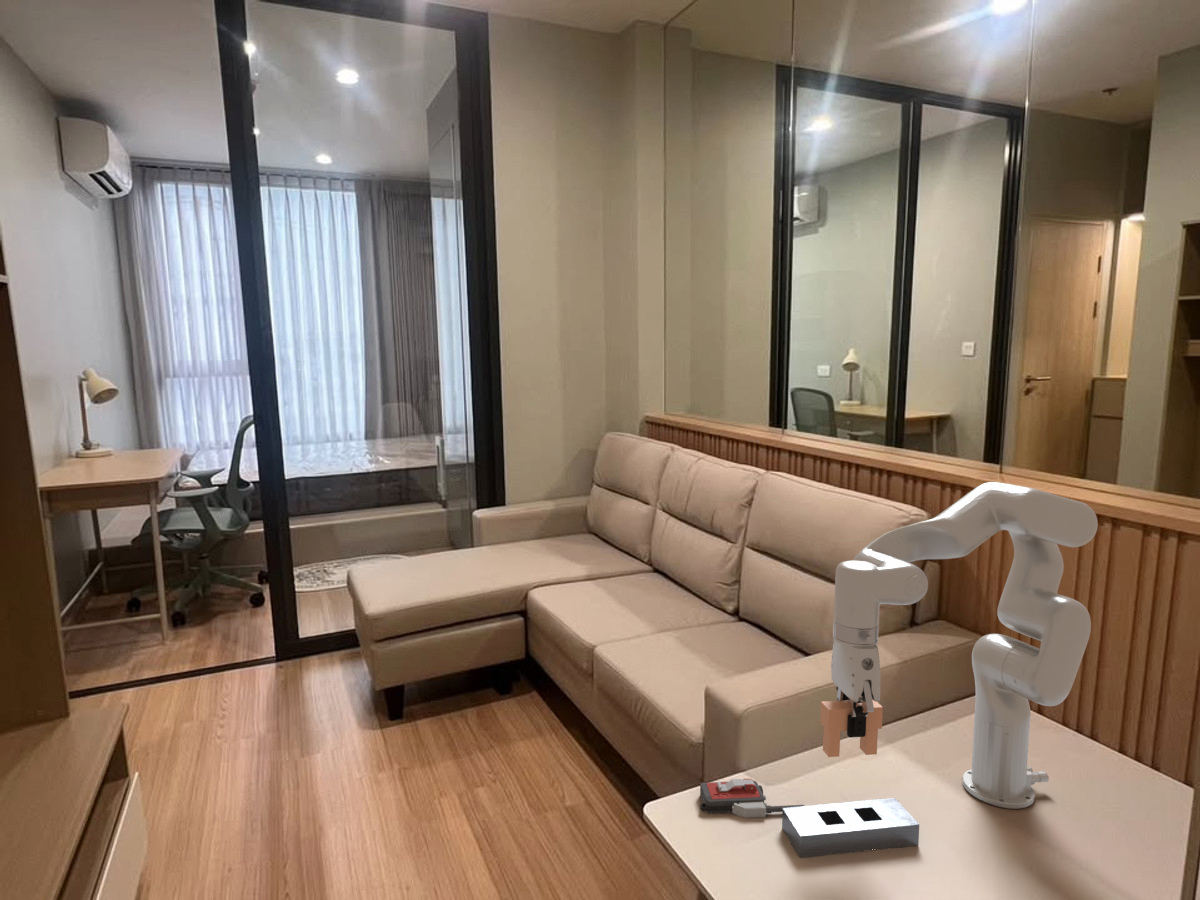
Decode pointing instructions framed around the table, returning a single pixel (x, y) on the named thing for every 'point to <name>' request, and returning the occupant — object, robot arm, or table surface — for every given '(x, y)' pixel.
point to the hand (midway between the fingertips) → (851, 729)
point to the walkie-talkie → (736, 798)
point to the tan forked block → (836, 721)
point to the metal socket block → (849, 827)
